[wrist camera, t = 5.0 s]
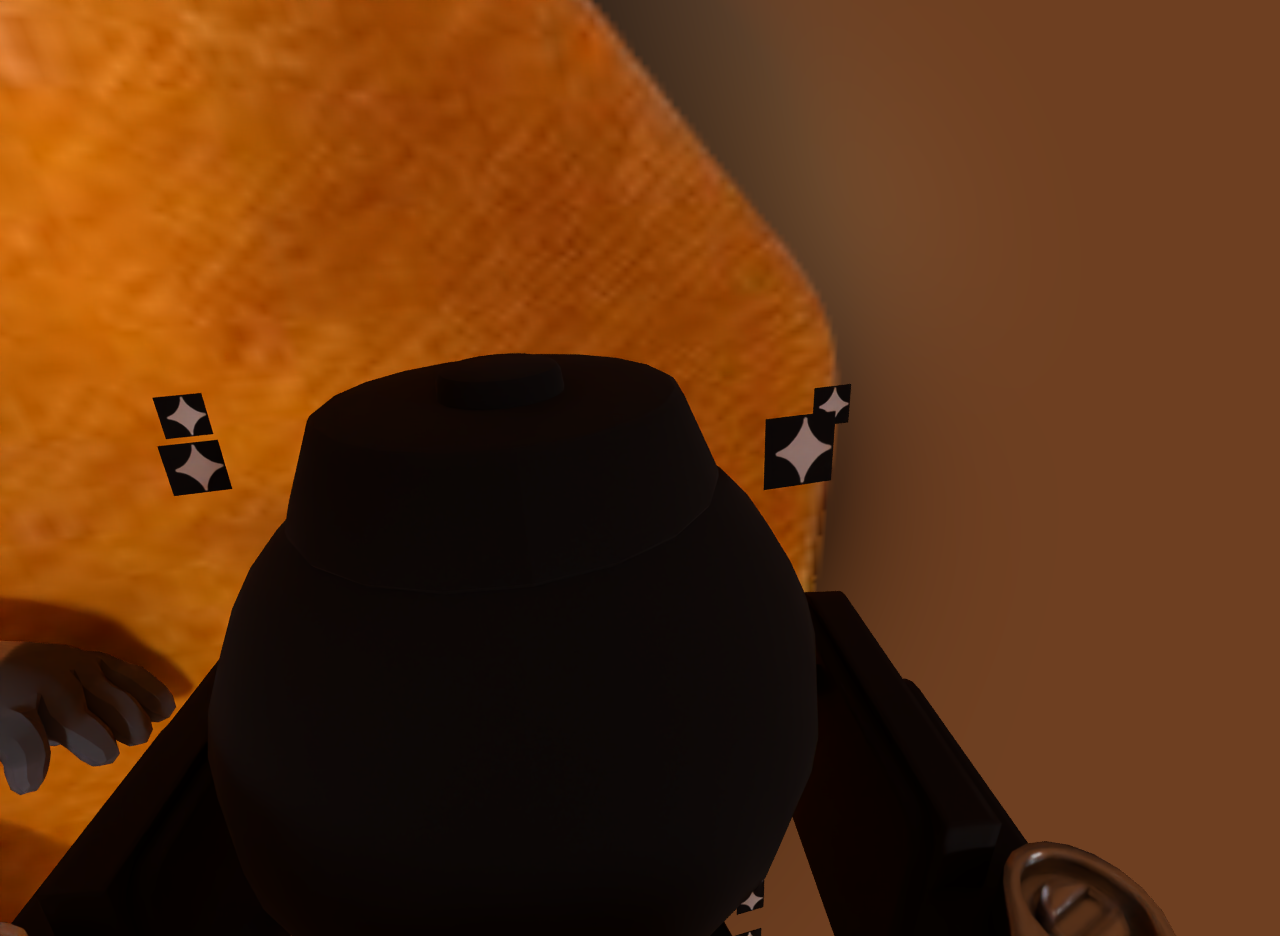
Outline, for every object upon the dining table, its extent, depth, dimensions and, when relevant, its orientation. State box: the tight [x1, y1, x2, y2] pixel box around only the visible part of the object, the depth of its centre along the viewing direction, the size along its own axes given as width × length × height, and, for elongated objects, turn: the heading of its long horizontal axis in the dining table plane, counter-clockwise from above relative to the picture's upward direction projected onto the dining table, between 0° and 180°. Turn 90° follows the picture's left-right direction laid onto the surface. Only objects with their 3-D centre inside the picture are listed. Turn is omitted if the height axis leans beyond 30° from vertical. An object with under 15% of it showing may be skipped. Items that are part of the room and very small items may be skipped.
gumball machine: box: [153, 353, 851, 936], centre depth 8 cm, size 7×6×10 cm
